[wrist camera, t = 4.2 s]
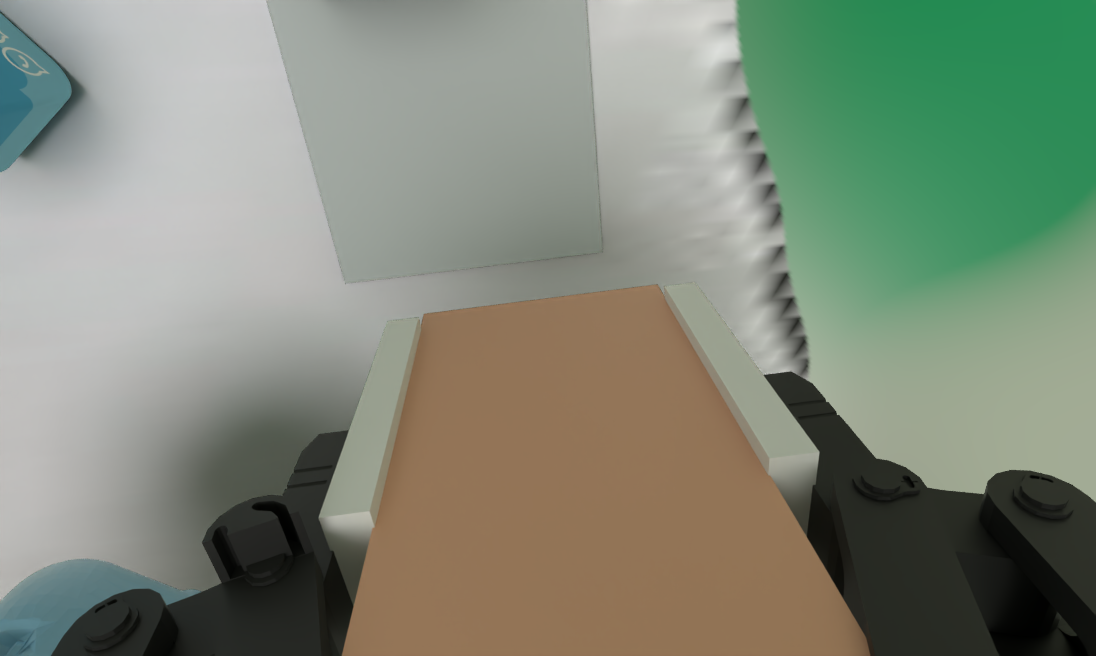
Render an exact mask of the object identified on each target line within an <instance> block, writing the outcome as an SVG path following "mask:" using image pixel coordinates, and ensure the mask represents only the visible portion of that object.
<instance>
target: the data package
mask: <svg viewBox="0 0 1096 656" xmlns="http://www.w3.org/2000/svg"><path fill="white" fill-rule="evenodd" d="M70 96H71V85H70V82H69V80H68V78H67V76H66V75H65V73H64V72H63V71H62V69H61V68H60V67H59V66H58V65H57V64H56V63H55V62H54V61H53V60H52V59H51V58H50V57H49V56H48V55H47V54H46V53H45V52H43V51H42V50H41V49H40V48H39V47H38V46H37V45H36V44H34V43H33V42H32V41H31V40H30V39H29V38H28V37H27V36H26V35H24V34H23V33H22V32H21V31H20V30H19V29H18V28H17V27H15V26H14V25H13V24H12V23H11V22H10V21H9V20H8V19H6V18H5V17H4V16H3V15H2V14H1V13H0V172H2V171H4V170H6V169H7V168H9V167H10V166H11V165H12V163H13V162H14V161H15V160H16V159H17V158H18V157H19V155H20V154H21V153H22V152H23V151H24V150H25V149H26V147H27V146H28V145H29V144H30V143H31V142H32V141H33V139H34V138H35V137H36V136H37V135H38V134H39V133H40V131H41V130H42V129H43V128H44V127H45V126H46V125H47V123H48V122H49V121H50V120H51V119H52V118H53V117H54V115H55V114H56V113H57V112H58V111H59V110H60V109H61V107H62V106H63V105H64V104H65V103H66V102H67V101H68V99H69V98H70Z"/></svg>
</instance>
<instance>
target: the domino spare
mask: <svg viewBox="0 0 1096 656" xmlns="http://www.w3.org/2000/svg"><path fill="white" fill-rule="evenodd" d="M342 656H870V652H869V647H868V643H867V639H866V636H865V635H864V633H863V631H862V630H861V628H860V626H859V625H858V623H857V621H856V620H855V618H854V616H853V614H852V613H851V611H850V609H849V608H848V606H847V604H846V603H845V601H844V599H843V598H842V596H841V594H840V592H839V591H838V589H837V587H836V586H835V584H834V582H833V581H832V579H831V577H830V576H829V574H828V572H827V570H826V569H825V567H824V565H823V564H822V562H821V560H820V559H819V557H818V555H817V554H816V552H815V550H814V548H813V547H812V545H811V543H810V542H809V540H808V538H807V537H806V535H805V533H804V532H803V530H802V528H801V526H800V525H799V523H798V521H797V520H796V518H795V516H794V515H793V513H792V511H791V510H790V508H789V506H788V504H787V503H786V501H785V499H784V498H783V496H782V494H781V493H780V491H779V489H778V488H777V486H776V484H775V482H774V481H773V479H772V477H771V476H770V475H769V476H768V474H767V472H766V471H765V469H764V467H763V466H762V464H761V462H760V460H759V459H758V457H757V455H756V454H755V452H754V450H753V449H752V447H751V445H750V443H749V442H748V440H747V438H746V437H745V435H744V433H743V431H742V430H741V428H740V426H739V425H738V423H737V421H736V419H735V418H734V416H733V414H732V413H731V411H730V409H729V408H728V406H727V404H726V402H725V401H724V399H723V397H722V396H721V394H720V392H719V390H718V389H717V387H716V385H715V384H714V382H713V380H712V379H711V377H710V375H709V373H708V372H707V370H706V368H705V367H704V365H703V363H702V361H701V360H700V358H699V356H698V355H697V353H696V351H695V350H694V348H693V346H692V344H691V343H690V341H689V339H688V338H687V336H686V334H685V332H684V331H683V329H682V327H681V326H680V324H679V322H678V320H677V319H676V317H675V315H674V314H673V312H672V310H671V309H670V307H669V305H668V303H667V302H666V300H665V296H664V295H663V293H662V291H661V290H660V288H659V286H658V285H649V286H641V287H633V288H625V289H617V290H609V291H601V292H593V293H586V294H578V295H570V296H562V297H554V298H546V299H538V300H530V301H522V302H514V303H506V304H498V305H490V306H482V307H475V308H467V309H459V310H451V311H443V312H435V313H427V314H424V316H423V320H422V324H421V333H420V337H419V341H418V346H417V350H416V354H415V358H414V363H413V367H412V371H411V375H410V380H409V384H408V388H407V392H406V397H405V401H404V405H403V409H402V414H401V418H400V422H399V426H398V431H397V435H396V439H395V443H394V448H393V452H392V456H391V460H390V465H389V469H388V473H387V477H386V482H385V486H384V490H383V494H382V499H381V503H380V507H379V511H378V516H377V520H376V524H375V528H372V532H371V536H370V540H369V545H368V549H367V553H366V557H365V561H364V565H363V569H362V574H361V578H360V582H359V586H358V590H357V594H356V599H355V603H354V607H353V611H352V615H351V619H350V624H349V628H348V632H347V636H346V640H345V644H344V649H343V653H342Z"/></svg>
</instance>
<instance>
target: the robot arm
mask: <svg viewBox="0 0 1096 656" xmlns="http://www.w3.org/2000/svg"><path fill="white" fill-rule="evenodd" d="M664 291H665V300H666V302H667V303H668V305H669V307H670V309H671V310H672V312H673V314H674V315H675V317H676V319H677V320H678V322H679V324H680V326H681V327H682V329H683V331H684V332H685V334H686V336H687V338H688V339H689V341H690V343H691V344H692V346H693V348H694V350H695V351H696V353H697V355H698V356H699V358H700V360H701V361H702V363H703V365H704V367H705V368H706V370H707V372H708V373H709V375H710V377H711V379H712V380H713V382H714V384H715V385H716V387H717V389H718V390H719V392H720V394H721V396H722V397H723V399H724V401H725V402H726V404H727V406H728V408H729V409H730V411H731V413H732V414H733V416H734V418H735V419H736V421H737V423H738V425H739V426H740V428H741V430H742V431H743V433H744V435H745V437H746V438H747V440H748V442H749V443H750V445H751V447H752V449H753V450H754V452H755V454H756V455H757V457H758V459H759V460H760V462H761V464H762V466H763V467H764V469H765V471H766V472H767V474H768V476H769V475H770V476H771V477H772V479H773V481H774V482H775V484H776V486H777V488H778V489H779V491H780V493H781V494H782V496H783V498H784V499H785V501H786V503H787V504H788V506H789V508H790V510H791V511H792V513H793V515H794V516H795V518H796V520H797V521H798V523H799V525H800V526H801V528H802V530H803V532H804V533H805V535H806V537H807V538H808V540H809V542H810V543H811V545H812V547H813V548H814V550H815V552H816V554H817V555H818V557H819V559H820V560H821V562H822V564H823V565H824V567H825V569H826V570H827V572H828V574H829V576H830V577H831V579H832V581H833V582H834V584H835V586H836V587H837V589H838V591H839V592H840V594H841V596H842V598H843V599H844V601H845V603H846V604H847V606H848V608H849V609H850V611H851V613H852V614H853V616H854V618H855V620H856V621H857V623H858V625H859V626H860V628H861V630H862V631H863V633H864V635H865V636H866V639H867V643H868V647H869V652H870V656H1096V502H1094V501H1093V500H1092V499H1091V498H1090V497H1089V496H1087V495H1086V494H1084V493H1083V492H1082V491H1080V490H1079V489H1077V488H1076V487H1074V486H1073V485H1071V484H1069V483H1067V482H1064V481H1062V480H1060V479H1058V478H1055V477H1053V476H1050V475H1045V474H1042V473H1037V472H1033V471H1024V470H1022V471H1021V470H1009V471H1005V472H1001V473H997V474H995V475H994V476H993V477H992V478H991V479H990V480H989V481H988V483H987V486H986V489H985V493H984V494H976V493H965V492H956V491H945V490H938V489H932V488H927V487H926V485H925V484H924V483H923V482H922V480H921V479H920V477H918V476H917V475H916V474H914V473H913V472H911V471H910V470H908V469H907V468H906V467H903V466H901V465H898V464H896V463H893V462H891V461H887V460H882V459H876V458H875V457H874V455H873V454H872V453H871V452H870V451H869V450H868V449H867V447H866V446H865V445H864V444H863V443H862V441H861V440H860V439H859V438H858V437H857V436H856V434H855V433H854V432H853V431H852V430H851V428H850V427H849V426H848V425H847V424H846V423H845V421H844V420H843V419H842V418H841V417H840V416H839V415H837V413H836V411H835V410H834V408H833V407H832V406H831V405H830V404H829V402H826V400H825V398H824V397H823V396H822V394H821V393H820V392H819V391H818V390H817V388H816V387H815V386H814V385H813V384H812V383H810V382H809V381H807V380H805V379H803V378H802V377H800V376H798V375H796V374H795V373H793V372H784V373H776V374H768V375H763V374H762V373H761V372H760V370H759V369H758V367H757V366H756V365H755V363H754V362H753V361H752V359H751V358H750V357H749V355H748V354H747V352H746V351H745V350H744V348H743V347H742V346H741V344H740V343H739V341H738V340H737V339H736V337H735V336H734V335H733V333H732V332H731V331H730V329H729V328H728V326H727V325H726V324H725V322H724V321H723V320H722V318H721V317H720V316H719V314H718V313H717V311H716V310H715V309H714V307H713V306H712V305H711V303H710V302H709V301H708V299H707V298H706V296H705V295H704V294H703V292H702V291H701V290H700V288H699V287H698V286H697V284H696V283H695V282H694V283H686V284H678V285H670V286H664ZM420 333H421V325H420V321H419V317H417V318H409V319H401V320H393V321H387V324H386V327H385V329H384V332H383V335H382V338H381V341H380V344H379V347H378V349H377V352H376V355H375V358H374V361H373V364H372V367H371V369H370V372H369V375H368V378H367V381H366V384H365V386H364V389H363V392H362V395H361V398H360V401H359V404H358V406H357V409H356V412H355V415H354V418H353V421H352V423H351V426H350V429H349V430H348V431H340V432H332V433H325V434H319V435H318V436H317V437H316V438H315V439H314V440H313V441H312V442H311V443H310V444H309V445H308V446H307V447H306V448H305V449H304V450H303V451H302V453H301V455H300V457H299V460H298V462H297V464H296V466H295V469H294V474H292V476H291V478H290V480H289V482H288V485H287V489H285V491H284V494H283V496H276V495H268V496H263V497H257V498H253V499H250V500H248V501H246V502H243V503H241V504H239V505H236V506H234V507H233V508H232V509H230V510H229V511H227V512H226V513H224V514H223V515H221V516H220V517H219V518H218V519H217V520H216V521H215V522H214V523H213V524H212V526H211V527H210V528H209V529H208V530H207V532H206V535H205V537H204V540H203V542H202V544H203V546H204V548H205V550H206V552H207V554H208V556H209V558H210V560H211V562H212V564H213V566H214V568H215V570H216V572H217V574H218V576H219V578H220V580H221V582H222V583H221V584H219V585H217V586H215V587H213V588H210V589H208V590H206V591H203V592H201V591H198V590H195V589H189V590H183V591H181V590H178V589H176V588H173V587H171V586H168V585H166V584H163V583H161V582H158V581H155V580H153V579H150V578H148V577H145V576H143V575H140V574H137V573H135V572H132V571H130V570H127V569H125V568H122V567H120V566H117V565H114V564H112V563H109V562H105V561H101V560H94V559H74V560H68V561H64V562H60V563H56V564H53V565H51V566H48V567H45V568H43V569H41V570H39V571H37V572H35V573H33V574H32V575H30V576H29V577H27V578H26V579H24V580H23V581H22V582H20V583H19V584H18V585H17V586H16V587H15V588H13V589H12V590H11V591H10V592H9V593H8V594H7V595H6V596H5V597H4V598H3V599H2V600H1V601H0V656H342V653H343V649H344V644H345V640H346V636H347V632H348V628H349V624H350V619H351V615H352V611H353V607H354V603H355V599H356V594H357V590H358V586H359V582H360V578H361V574H362V569H363V565H364V561H365V557H366V553H367V549H368V545H369V540H370V536H371V532H372V528H375V524H376V520H377V516H378V511H379V507H380V503H381V499H382V494H383V490H384V486H385V482H386V477H387V473H388V469H389V465H390V460H391V456H392V452H393V448H394V443H395V439H396V435H397V431H398V426H399V422H400V418H401V414H402V409H403V405H404V401H405V397H406V392H407V388H408V384H409V380H410V375H411V371H412V367H413V363H414V358H415V354H416V350H417V346H418V341H419V337H420Z"/></svg>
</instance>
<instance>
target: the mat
mask: <svg viewBox="0 0 1096 656" xmlns="http://www.w3.org/2000/svg"><path fill="white" fill-rule="evenodd" d="M266 1H267V5H268V9H269V12H270V16H271V19H272V23H273V27H274V30H275V34H276V37H277V41H278V45H279V48H280V52H281V55H282V59H283V63H284V66H285V70H286V73H287V77H288V81H289V84H290V88H291V91H292V95H293V98H294V102H295V106H296V109H297V113H298V116H299V120H300V124H301V127H302V131H303V134H304V138H305V142H306V145H307V149H308V152H309V156H310V160H311V163H312V167H313V170H314V174H315V178H316V181H317V185H318V188H319V192H320V195H321V199H322V203H323V206H324V210H325V213H326V217H327V221H328V224H329V228H330V231H331V235H332V239H333V242H334V246H335V249H336V253H337V257H338V260H339V264H340V267H341V271H342V275H343V278H344V282H345V284H348V283H356V282H364V281H373V280H381V279H389V278H397V277H405V276H413V275H422V274H430V273H438V272H446V271H454V270H462V269H471V268H479V267H487V266H495V265H503V264H511V263H520V262H528V261H536V260H544V259H552V258H560V257H569V256H577V255H585V254H593V253H601V252H603V249H602V234H601V219H600V204H599V189H598V174H597V159H596V144H595V129H594V114H593V99H592V84H591V69H590V54H589V39H588V24H587V9H586V0H266Z"/></svg>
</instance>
